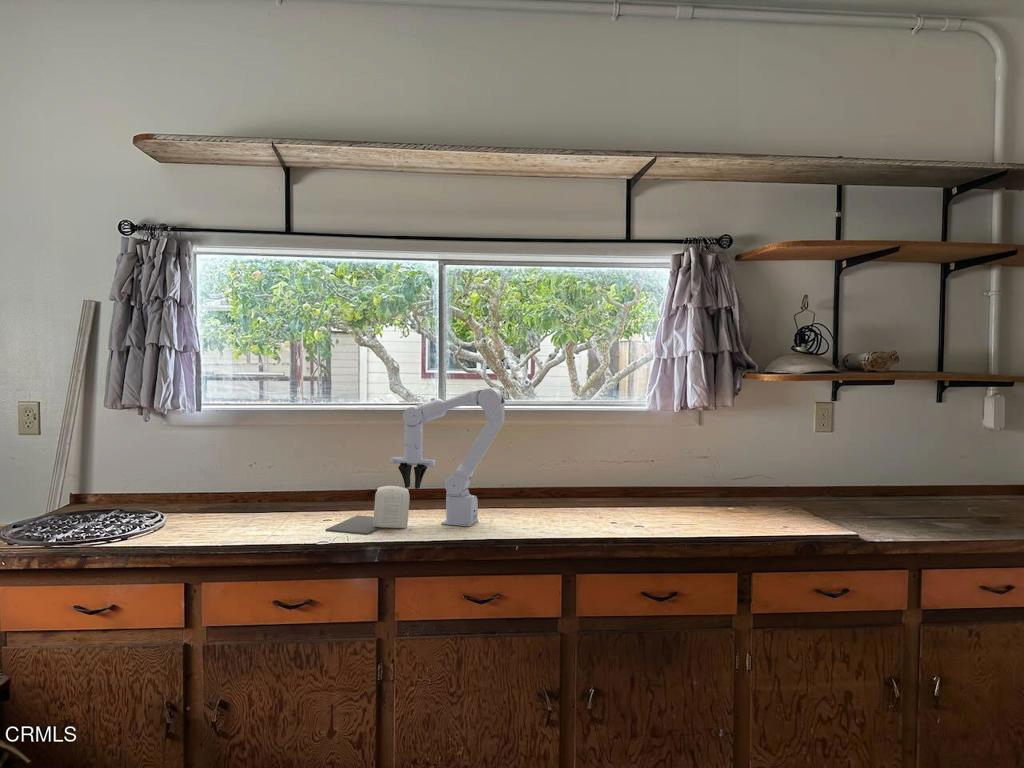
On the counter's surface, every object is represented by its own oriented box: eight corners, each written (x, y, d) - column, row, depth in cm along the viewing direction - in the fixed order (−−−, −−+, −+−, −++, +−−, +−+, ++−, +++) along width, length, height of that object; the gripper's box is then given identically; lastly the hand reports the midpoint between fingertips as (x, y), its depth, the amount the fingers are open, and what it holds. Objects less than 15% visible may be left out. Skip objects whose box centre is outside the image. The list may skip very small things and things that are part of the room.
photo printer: (407, 525, 193) (410, 485, 192) (407, 529, 189) (410, 488, 188) (373, 524, 192) (376, 483, 191) (372, 528, 187) (374, 487, 187)
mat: (396, 520, 199) (396, 518, 199) (367, 534, 182) (367, 533, 182) (357, 516, 203) (357, 515, 203) (325, 530, 186) (325, 529, 186)
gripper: (386, 444, 196) (385, 488, 197) (429, 447, 192) (428, 492, 193) (397, 442, 203) (396, 484, 204) (438, 445, 199) (437, 487, 199)
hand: (412, 487), depth 199 cm, fingers open, 3 cm apart
